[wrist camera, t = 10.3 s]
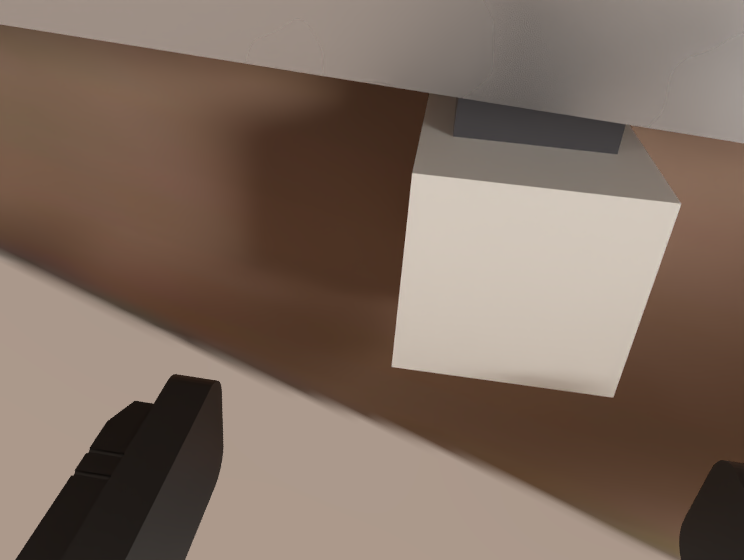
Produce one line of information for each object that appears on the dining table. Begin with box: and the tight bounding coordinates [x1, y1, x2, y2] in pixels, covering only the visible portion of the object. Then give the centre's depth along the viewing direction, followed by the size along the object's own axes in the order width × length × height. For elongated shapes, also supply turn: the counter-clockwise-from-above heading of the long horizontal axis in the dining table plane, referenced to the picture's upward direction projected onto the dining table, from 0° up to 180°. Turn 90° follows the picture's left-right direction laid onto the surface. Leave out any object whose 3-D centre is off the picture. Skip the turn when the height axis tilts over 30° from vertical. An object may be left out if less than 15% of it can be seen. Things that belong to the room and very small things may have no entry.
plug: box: [392, 93, 681, 398], centre depth 11 cm, size 13×4×5 cm, turn 176°
